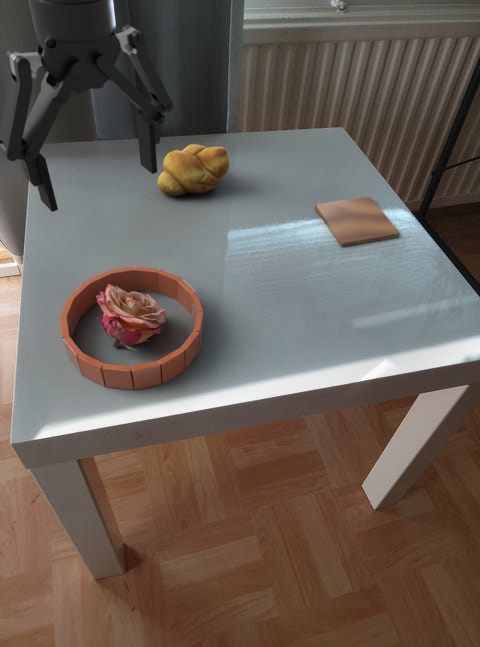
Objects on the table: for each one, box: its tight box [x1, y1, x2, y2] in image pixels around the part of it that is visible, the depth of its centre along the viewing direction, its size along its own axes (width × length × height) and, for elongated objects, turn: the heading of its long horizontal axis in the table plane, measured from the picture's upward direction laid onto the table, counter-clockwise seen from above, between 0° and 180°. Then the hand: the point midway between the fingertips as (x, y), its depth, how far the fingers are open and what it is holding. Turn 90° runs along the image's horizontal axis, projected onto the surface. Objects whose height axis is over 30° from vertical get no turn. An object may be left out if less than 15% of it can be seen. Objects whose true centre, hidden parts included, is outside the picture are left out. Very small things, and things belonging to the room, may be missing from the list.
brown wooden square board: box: [314, 196, 401, 248], centre depth 88 cm, size 11×11×1 cm
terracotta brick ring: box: [59, 265, 204, 391], centre depth 67 cm, size 18×18×4 cm
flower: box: [96, 284, 167, 351], centre depth 66 cm, size 10×9×8 cm
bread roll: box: [157, 143, 230, 197], centre depth 89 cm, size 13×10×8 cm
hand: (101, 186), depth 61 cm, fingers open, 13 cm apart
